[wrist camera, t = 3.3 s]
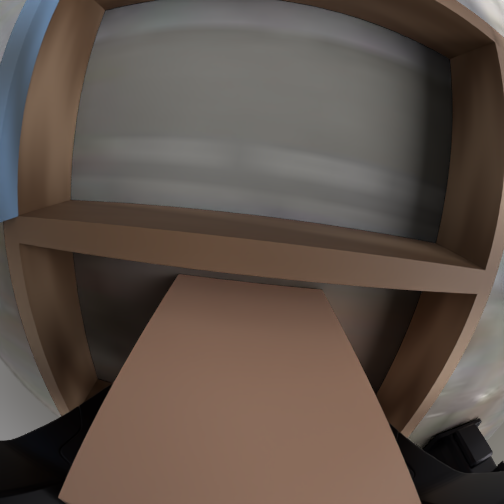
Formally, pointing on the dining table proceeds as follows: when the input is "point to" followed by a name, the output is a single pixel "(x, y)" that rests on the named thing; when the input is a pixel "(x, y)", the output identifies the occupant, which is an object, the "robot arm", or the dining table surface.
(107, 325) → the dining table surface
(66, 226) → the frame
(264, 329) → the plug block
